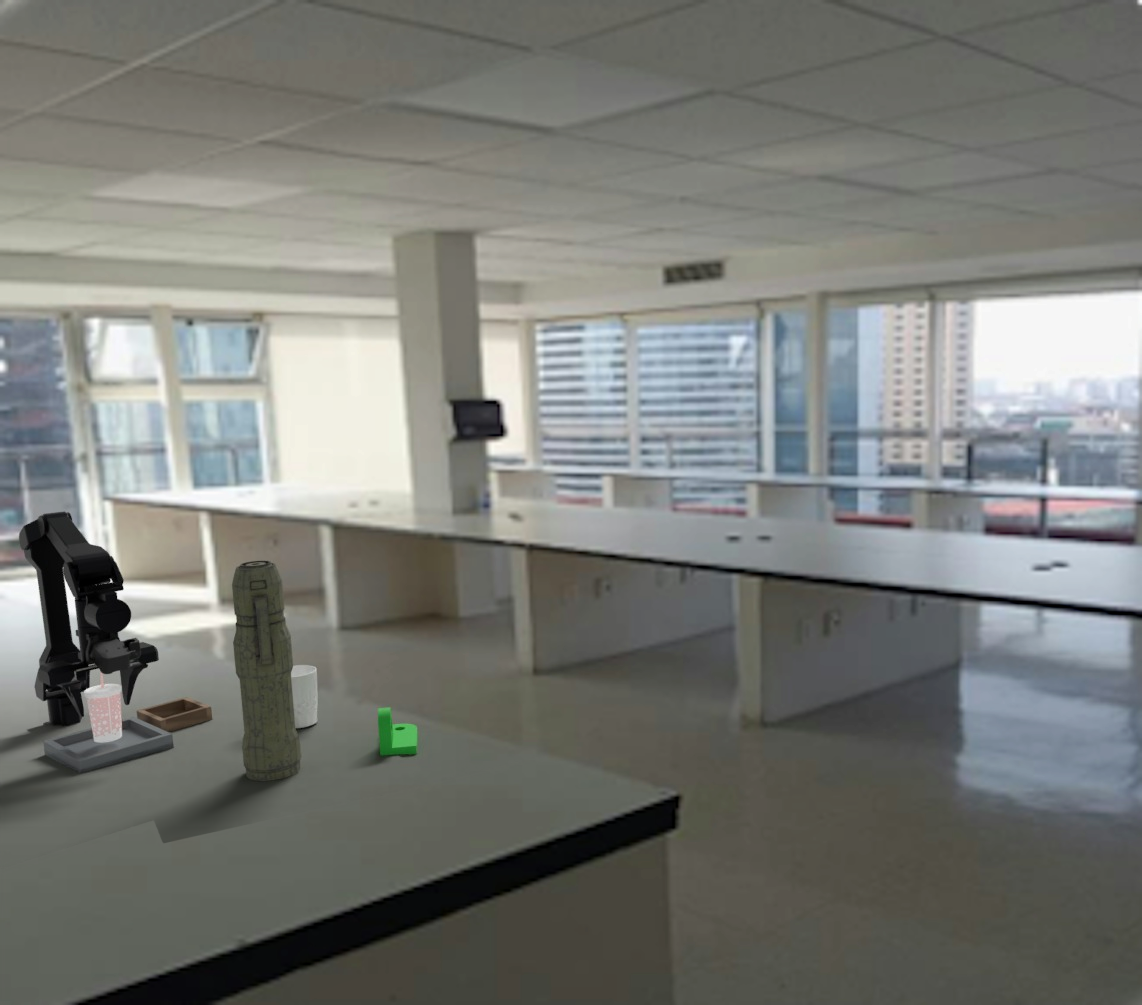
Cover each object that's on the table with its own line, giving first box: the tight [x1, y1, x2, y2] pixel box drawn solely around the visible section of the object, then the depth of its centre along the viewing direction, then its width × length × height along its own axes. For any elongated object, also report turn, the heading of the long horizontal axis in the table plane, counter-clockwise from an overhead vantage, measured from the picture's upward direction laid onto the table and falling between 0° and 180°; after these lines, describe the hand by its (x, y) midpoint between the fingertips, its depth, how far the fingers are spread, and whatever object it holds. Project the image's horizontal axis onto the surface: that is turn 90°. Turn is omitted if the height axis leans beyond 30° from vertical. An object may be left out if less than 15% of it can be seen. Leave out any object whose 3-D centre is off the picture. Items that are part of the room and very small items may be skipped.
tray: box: [42, 716, 175, 774], centre depth 183 cm, size 16×16×2 cm
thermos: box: [231, 560, 302, 782], centre depth 166 cm, size 9×12×35 cm
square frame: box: [136, 696, 213, 733], centre depth 198 cm, size 10×10×2 cm
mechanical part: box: [377, 707, 419, 757], centre depth 179 cm, size 12×6×8 cm, turn 8°
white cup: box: [291, 664, 319, 729], centre depth 193 cm, size 8×8×10 cm
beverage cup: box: [83, 669, 122, 743], centre depth 182 cm, size 6×6×14 cm
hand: (104, 710), depth 183 cm, fingers closed on beverage cup, 7 cm apart
